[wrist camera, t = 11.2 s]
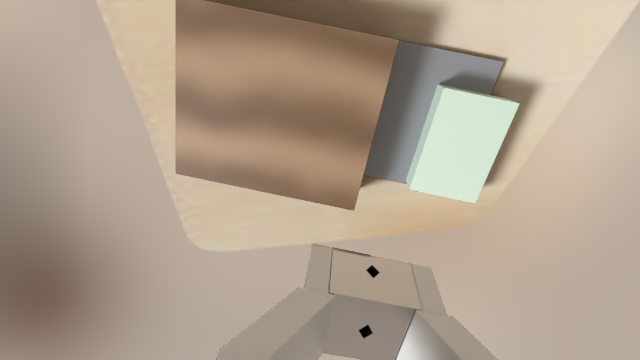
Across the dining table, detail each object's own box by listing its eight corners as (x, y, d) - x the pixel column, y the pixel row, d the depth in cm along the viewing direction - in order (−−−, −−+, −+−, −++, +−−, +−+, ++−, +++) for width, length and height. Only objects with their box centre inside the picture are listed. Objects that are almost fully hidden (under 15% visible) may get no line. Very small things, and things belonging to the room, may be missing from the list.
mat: (398, 40, 27) (399, 40, 26) (501, 61, 27) (503, 61, 26) (363, 173, 32) (363, 175, 31) (450, 191, 32) (451, 193, 31)
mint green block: (519, 103, 25) (508, 98, 27) (444, 87, 25) (437, 84, 27) (475, 203, 29) (468, 193, 31) (409, 189, 29) (405, 180, 31)
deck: (199, -1, 27) (175, -6, 23) (392, 39, 27) (399, 40, 23) (195, 157, 32) (175, 173, 29) (353, 190, 32) (353, 210, 29)
